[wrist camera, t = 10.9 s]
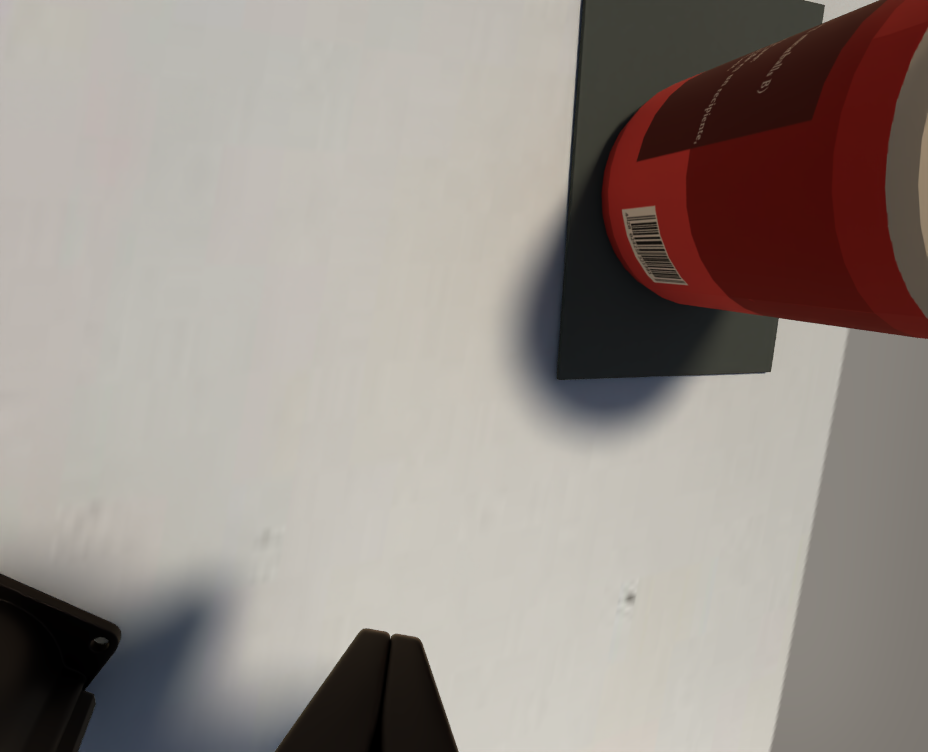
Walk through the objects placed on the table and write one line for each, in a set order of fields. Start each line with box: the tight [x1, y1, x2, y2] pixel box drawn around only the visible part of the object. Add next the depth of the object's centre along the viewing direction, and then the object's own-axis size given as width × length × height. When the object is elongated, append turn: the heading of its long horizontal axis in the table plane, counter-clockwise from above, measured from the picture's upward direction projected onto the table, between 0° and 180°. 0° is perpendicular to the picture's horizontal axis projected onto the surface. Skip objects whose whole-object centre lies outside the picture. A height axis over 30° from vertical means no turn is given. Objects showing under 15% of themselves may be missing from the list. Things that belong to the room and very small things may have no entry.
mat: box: [557, 0, 825, 380], centre depth 22 cm, size 10×14×1 cm
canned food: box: [601, 0, 928, 339], centre depth 16 cm, size 8×8×11 cm
